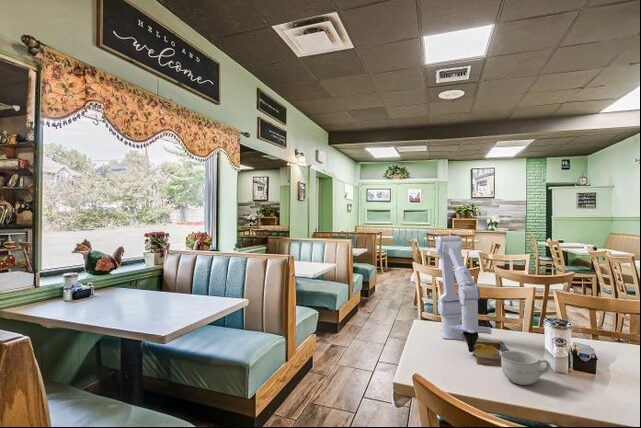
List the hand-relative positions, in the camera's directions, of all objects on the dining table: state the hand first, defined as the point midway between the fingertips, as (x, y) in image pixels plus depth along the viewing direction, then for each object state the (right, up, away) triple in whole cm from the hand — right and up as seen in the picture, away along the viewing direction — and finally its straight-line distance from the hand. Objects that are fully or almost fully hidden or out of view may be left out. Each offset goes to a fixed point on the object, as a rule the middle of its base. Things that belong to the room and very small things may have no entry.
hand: (470, 351), depth 129 cm
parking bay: (+6, -1, -2) cm, 6 cm away
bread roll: (+5, -1, -1) cm, 6 cm away
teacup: (+8, -2, -21) cm, 22 cm away
